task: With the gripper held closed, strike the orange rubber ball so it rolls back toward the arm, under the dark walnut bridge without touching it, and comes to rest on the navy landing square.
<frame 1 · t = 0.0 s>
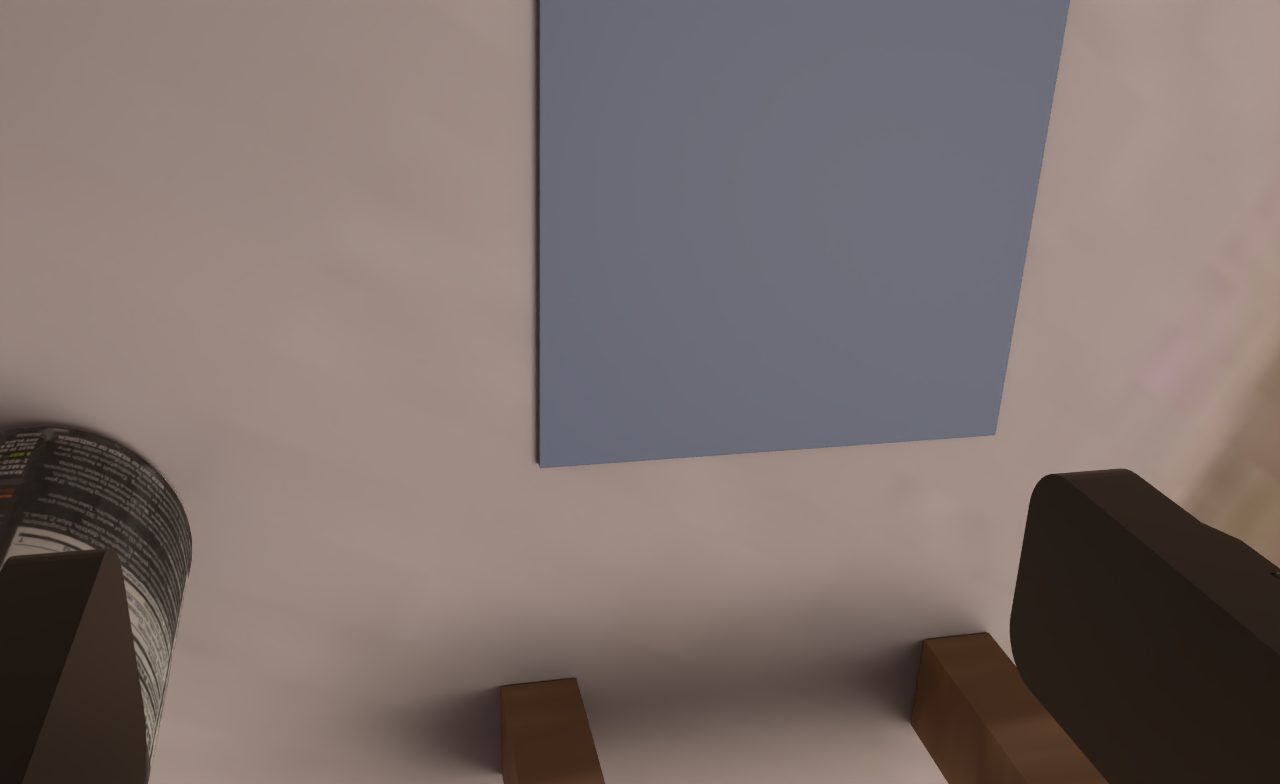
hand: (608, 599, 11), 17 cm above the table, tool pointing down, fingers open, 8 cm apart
pill bottle: (58, 532, 28), on the table
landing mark: (795, 217, 28), on the table
bridge: (751, 702, 34), on the table
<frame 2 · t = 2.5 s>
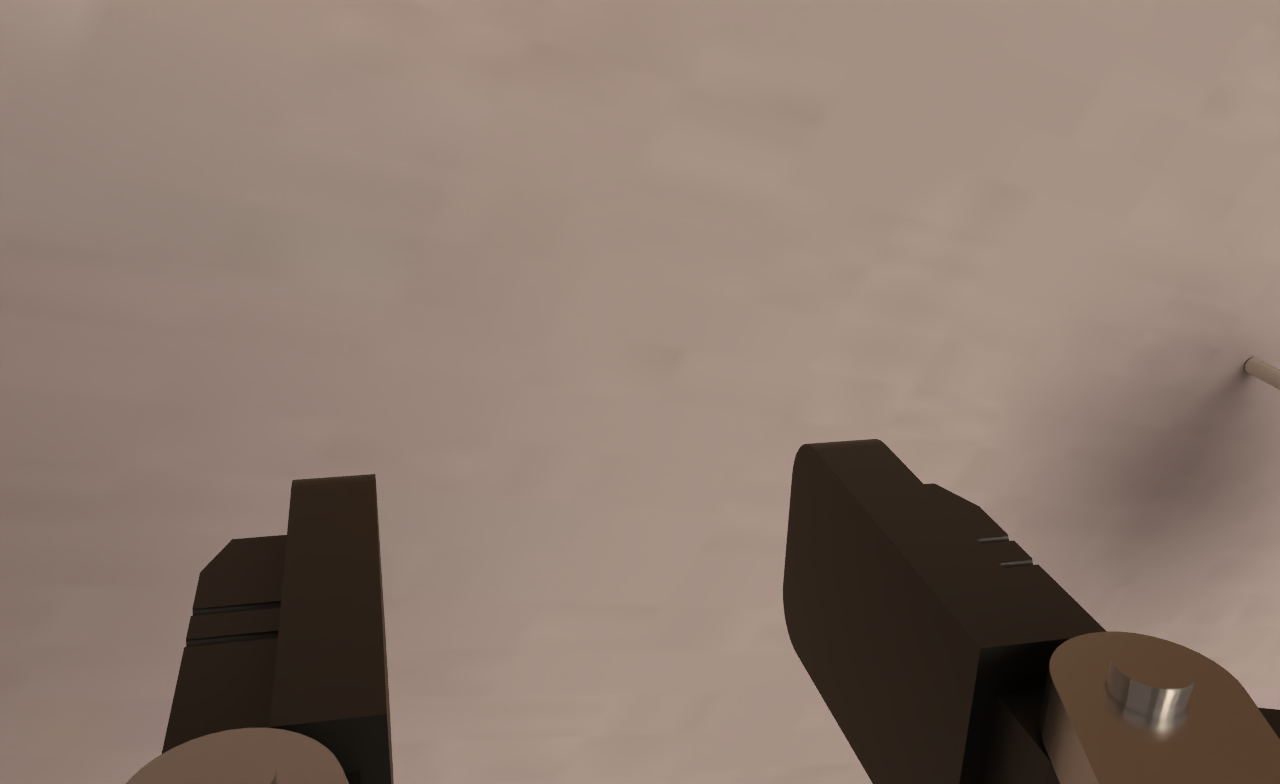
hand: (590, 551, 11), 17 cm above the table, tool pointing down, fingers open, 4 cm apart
lollipop: (1247, 362, 34), on the table
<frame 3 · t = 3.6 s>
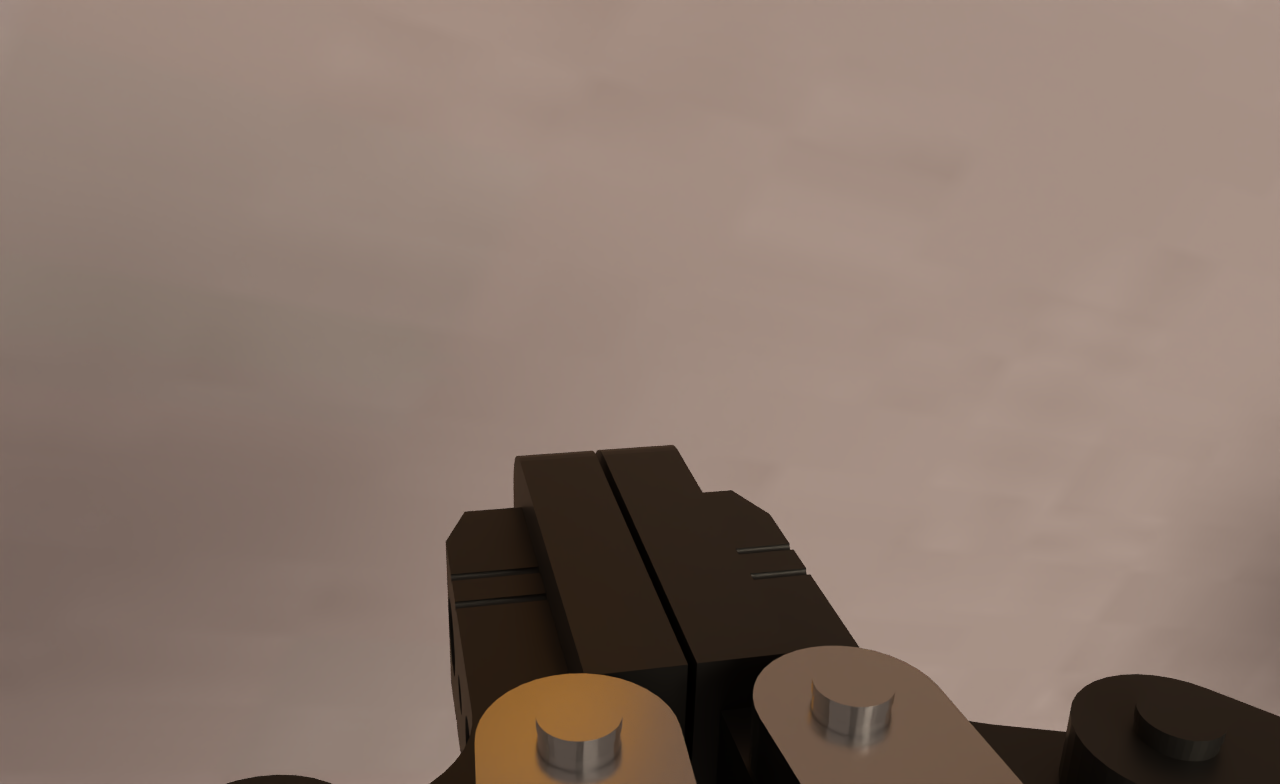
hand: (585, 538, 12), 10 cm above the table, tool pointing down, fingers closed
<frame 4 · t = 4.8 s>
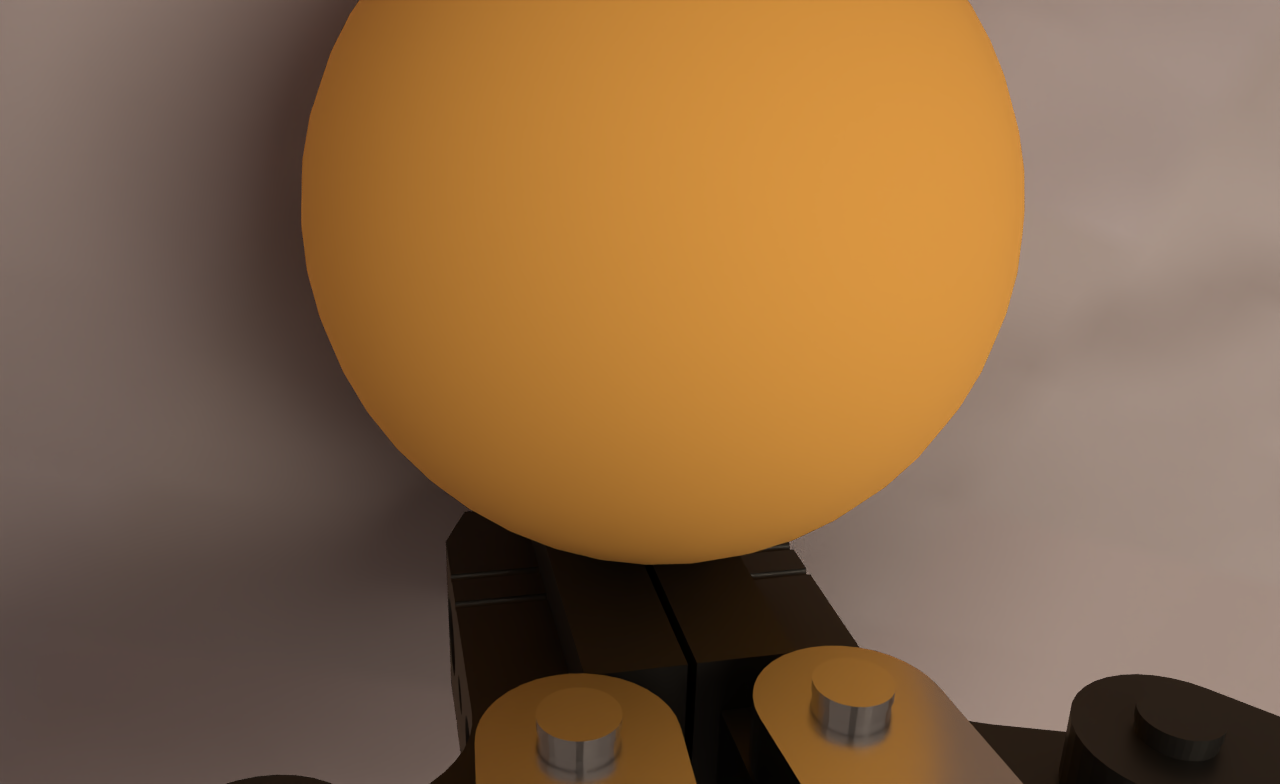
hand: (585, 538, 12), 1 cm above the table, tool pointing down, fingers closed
ball: (660, 214, 9), on the table, touching gripper
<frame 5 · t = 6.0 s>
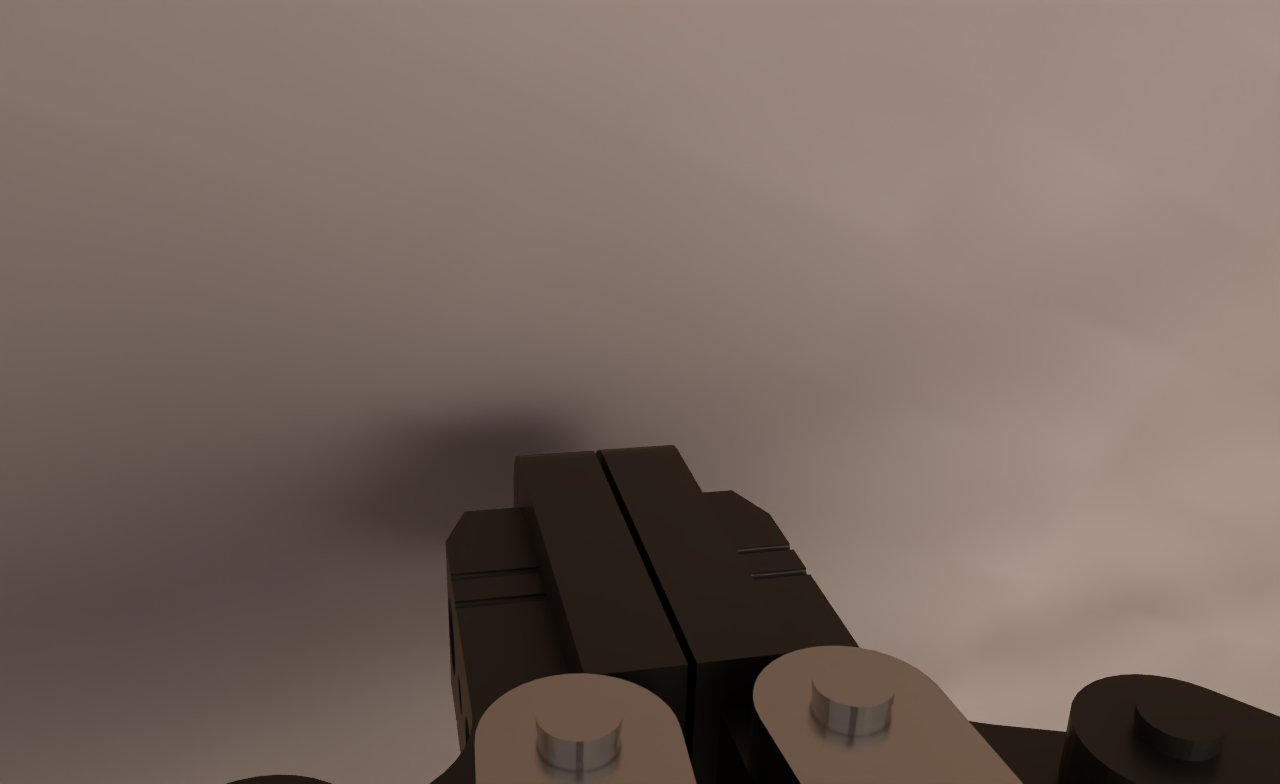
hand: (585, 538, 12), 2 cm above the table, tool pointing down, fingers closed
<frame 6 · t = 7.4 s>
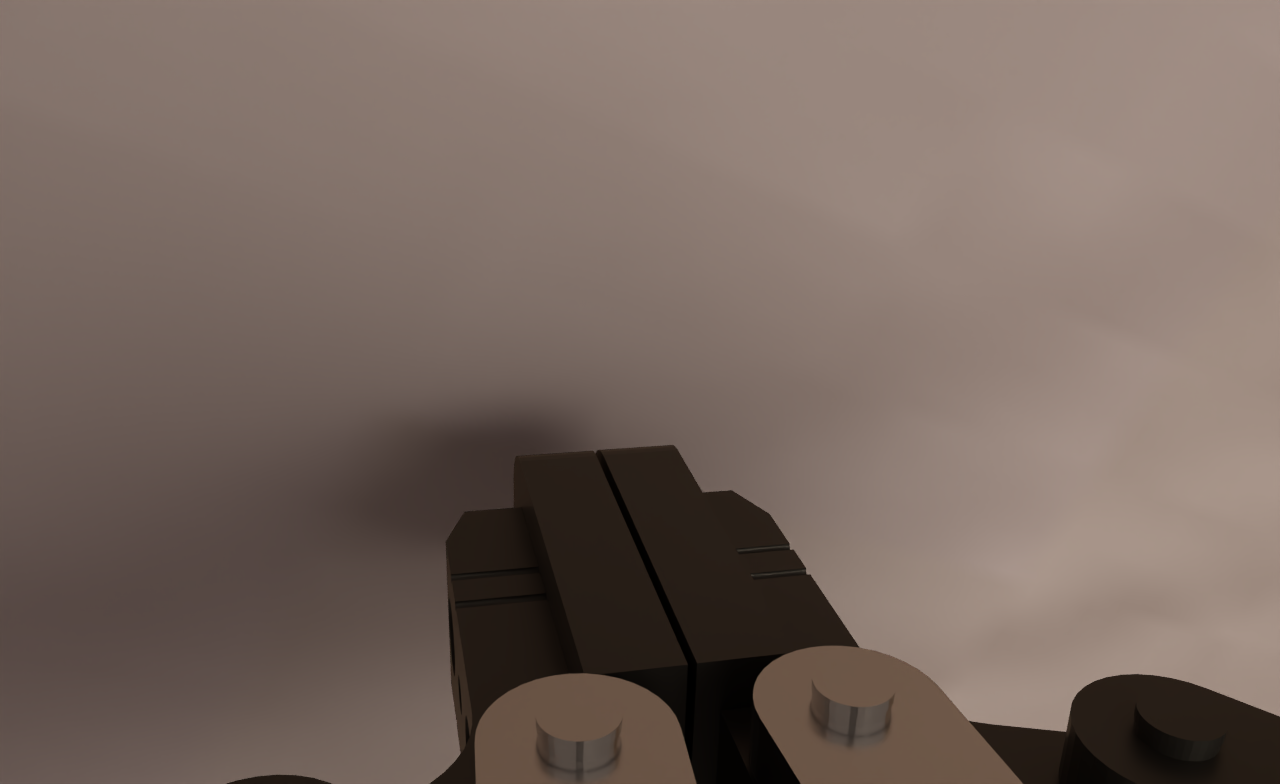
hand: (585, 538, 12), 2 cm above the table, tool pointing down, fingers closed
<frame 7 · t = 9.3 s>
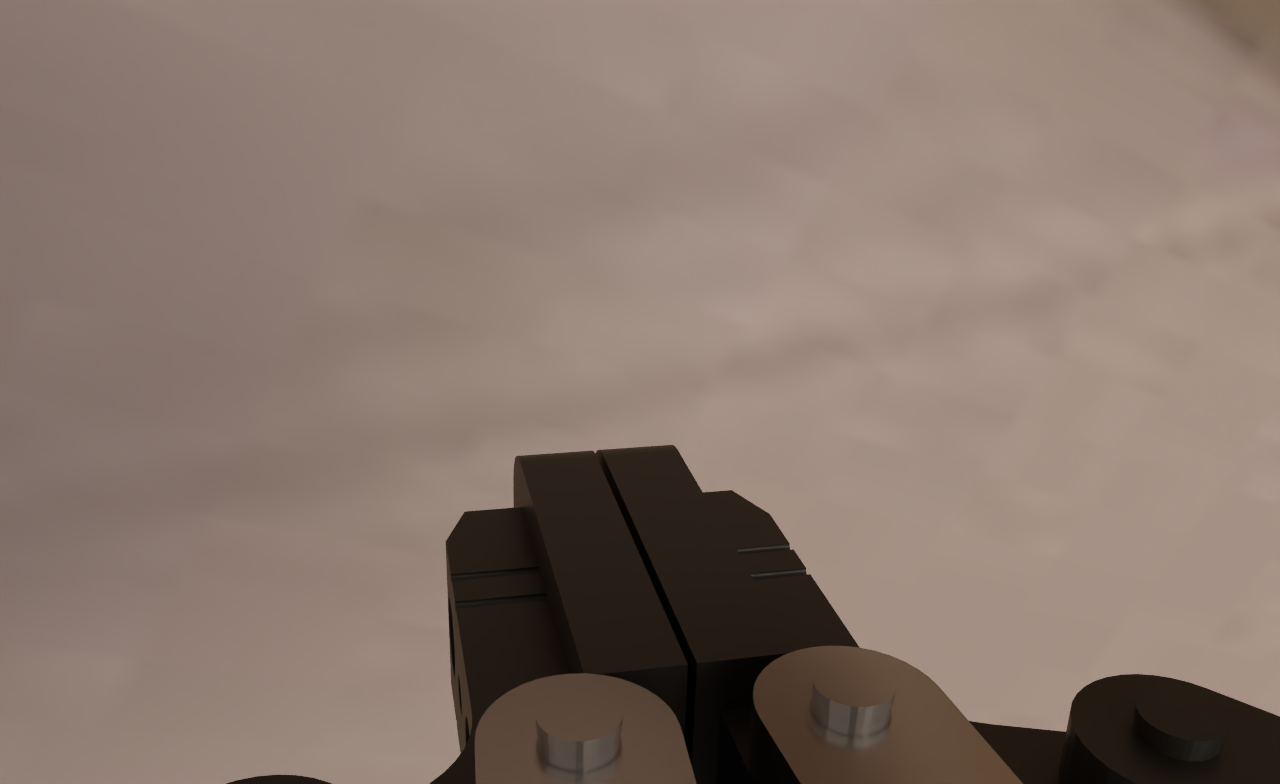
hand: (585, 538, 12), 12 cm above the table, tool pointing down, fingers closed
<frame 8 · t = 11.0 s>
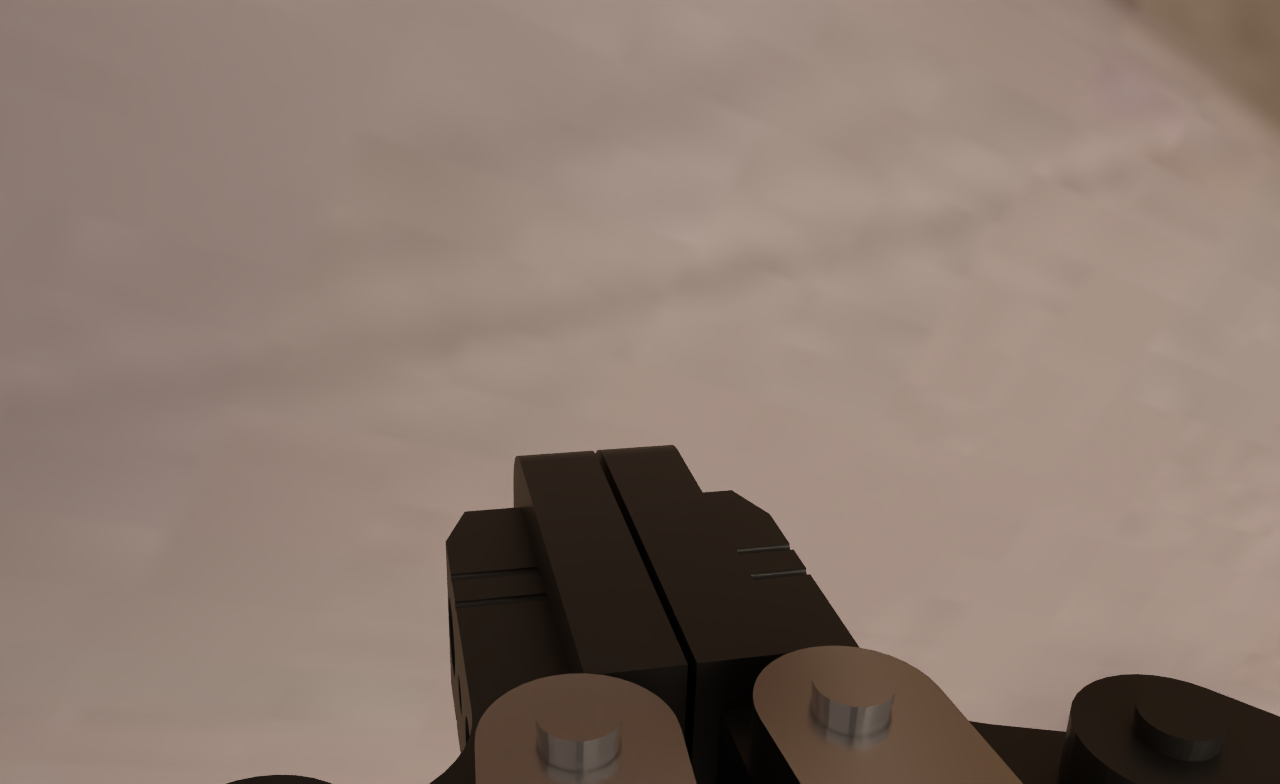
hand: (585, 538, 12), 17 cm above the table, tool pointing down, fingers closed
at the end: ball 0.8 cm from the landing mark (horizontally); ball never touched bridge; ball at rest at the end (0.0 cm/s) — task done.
